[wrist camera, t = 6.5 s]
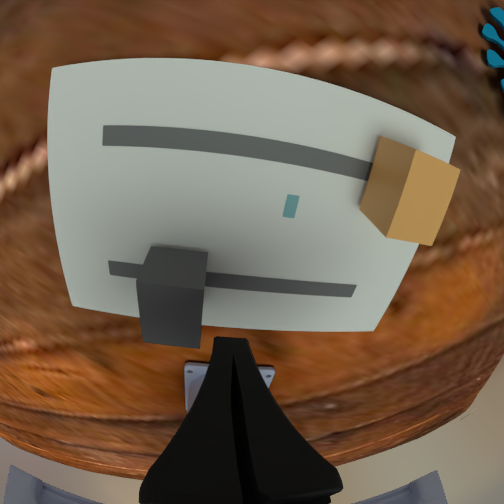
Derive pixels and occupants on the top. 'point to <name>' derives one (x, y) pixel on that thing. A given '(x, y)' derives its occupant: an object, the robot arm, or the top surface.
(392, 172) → the tan fader
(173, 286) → the black fader
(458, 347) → the top surface
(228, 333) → the top surface
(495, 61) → the gear
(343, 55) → the top surface
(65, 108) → the fader panel
